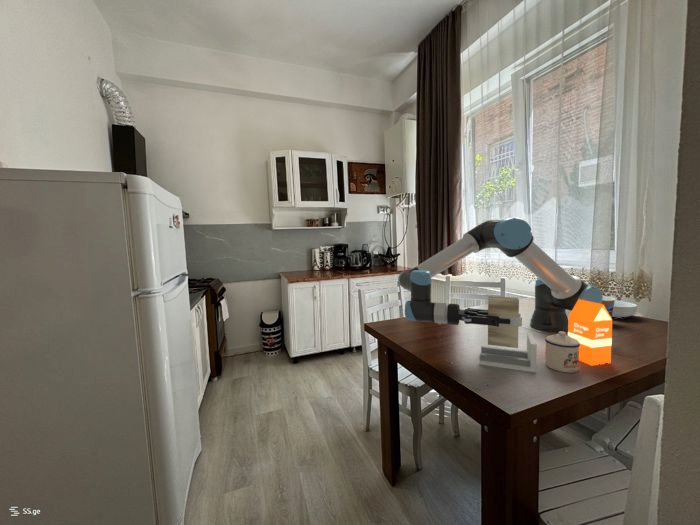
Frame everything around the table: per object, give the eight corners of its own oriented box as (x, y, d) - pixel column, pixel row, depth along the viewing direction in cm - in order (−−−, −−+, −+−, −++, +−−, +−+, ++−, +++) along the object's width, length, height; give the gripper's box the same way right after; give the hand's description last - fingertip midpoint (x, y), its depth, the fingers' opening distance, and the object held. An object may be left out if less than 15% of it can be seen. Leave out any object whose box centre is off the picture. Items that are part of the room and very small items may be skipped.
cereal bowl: (646, 320, 138) (647, 306, 138) (610, 321, 139) (611, 307, 138) (615, 311, 155) (616, 298, 155) (583, 312, 156) (583, 299, 155)
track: (480, 364, 98) (480, 338, 98) (481, 352, 108) (481, 328, 107) (536, 372, 91) (536, 344, 91) (531, 359, 101) (532, 333, 100)
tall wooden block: (487, 340, 104) (488, 296, 102) (516, 343, 100) (517, 297, 98) (487, 344, 100) (488, 298, 98) (518, 348, 96) (519, 300, 94)
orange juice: (591, 365, 95) (593, 305, 93) (566, 355, 103) (568, 299, 102) (611, 363, 96) (613, 303, 94) (585, 353, 105) (587, 298, 103)
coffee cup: (607, 327, 131) (608, 301, 130) (581, 321, 141) (582, 297, 140) (619, 323, 136) (620, 298, 135) (593, 318, 145) (594, 294, 144)
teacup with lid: (568, 376, 88) (569, 338, 87) (538, 364, 97) (539, 330, 96) (590, 367, 94) (591, 332, 93) (559, 357, 102) (560, 324, 101)
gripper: (450, 317, 115) (518, 323, 105) (444, 330, 99) (523, 339, 89) (450, 298, 114) (519, 303, 104) (444, 309, 99) (524, 315, 88)
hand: (520, 319), depth 97 cm, fingers closed on tall wooden block, 4 cm apart
